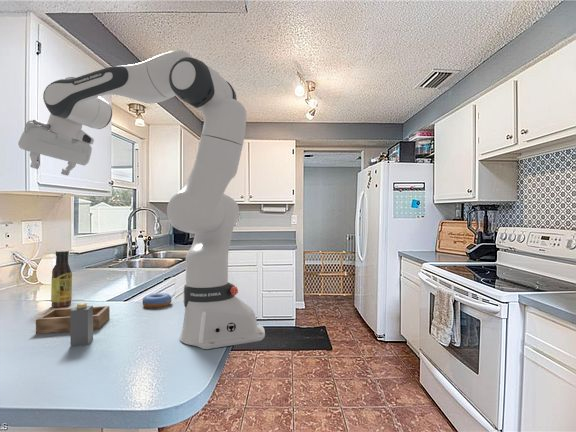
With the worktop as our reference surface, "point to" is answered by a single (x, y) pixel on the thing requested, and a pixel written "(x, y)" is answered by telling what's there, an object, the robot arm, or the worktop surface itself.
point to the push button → (81, 325)
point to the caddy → (68, 320)
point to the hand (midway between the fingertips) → (49, 171)
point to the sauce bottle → (61, 281)
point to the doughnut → (156, 300)
